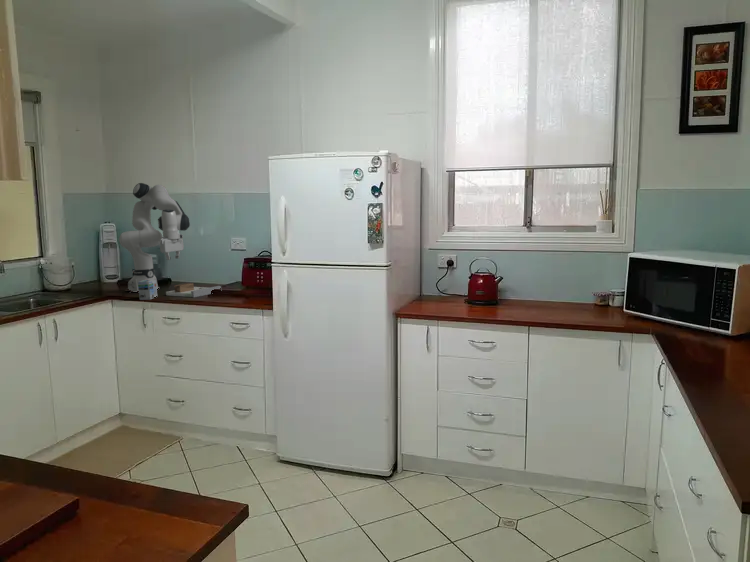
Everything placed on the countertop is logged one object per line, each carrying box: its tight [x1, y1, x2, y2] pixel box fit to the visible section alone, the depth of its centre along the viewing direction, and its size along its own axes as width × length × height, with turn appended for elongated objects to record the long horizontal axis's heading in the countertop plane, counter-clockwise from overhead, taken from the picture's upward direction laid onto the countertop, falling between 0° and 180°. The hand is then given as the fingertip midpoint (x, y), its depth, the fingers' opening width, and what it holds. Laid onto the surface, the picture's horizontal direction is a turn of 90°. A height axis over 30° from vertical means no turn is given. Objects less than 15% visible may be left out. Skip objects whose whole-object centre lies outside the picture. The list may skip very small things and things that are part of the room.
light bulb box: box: [138, 278, 158, 301], centre depth 338 cm, size 11×7×11 cm, turn 179°
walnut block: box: [174, 282, 195, 292], centre depth 347 cm, size 5×10×4 cm, turn 147°
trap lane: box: [165, 285, 222, 298], centre depth 349 cm, size 25×21×4 cm
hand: (173, 259), depth 349 cm, fingers open, 8 cm apart
